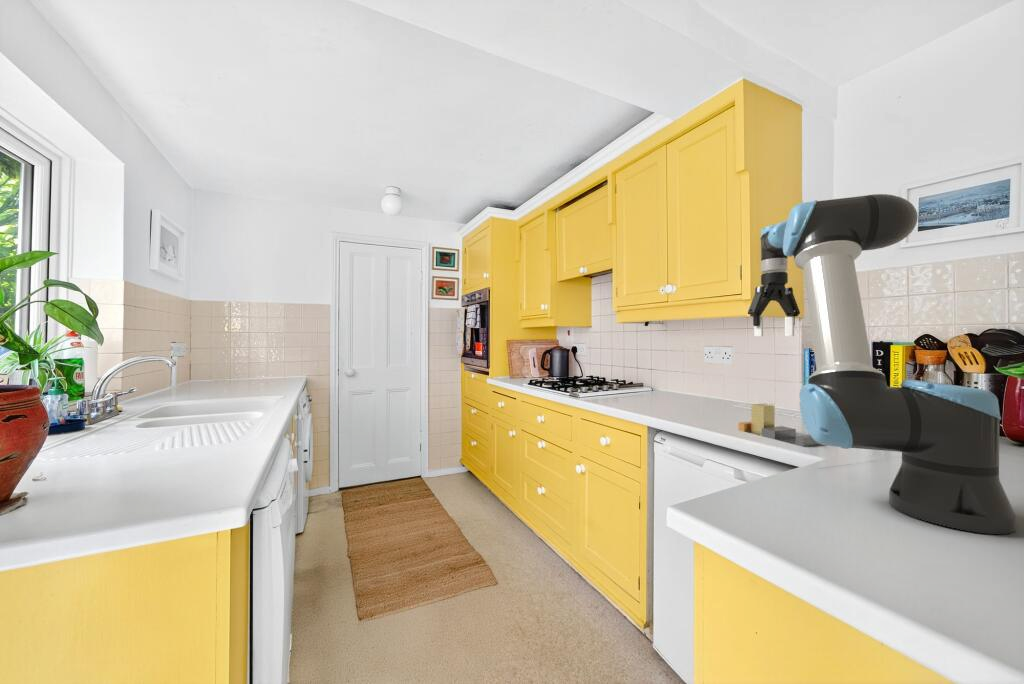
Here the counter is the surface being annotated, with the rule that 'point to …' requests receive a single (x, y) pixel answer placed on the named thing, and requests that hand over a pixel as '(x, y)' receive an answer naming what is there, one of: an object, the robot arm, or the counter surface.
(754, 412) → the brass block
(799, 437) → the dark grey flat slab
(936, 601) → the counter surface
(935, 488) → the robot arm
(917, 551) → the counter surface
